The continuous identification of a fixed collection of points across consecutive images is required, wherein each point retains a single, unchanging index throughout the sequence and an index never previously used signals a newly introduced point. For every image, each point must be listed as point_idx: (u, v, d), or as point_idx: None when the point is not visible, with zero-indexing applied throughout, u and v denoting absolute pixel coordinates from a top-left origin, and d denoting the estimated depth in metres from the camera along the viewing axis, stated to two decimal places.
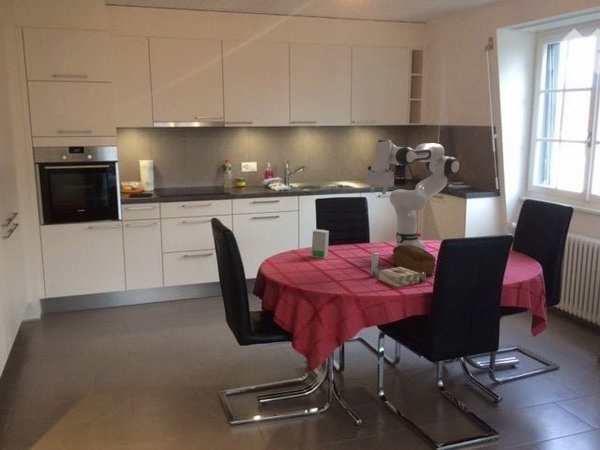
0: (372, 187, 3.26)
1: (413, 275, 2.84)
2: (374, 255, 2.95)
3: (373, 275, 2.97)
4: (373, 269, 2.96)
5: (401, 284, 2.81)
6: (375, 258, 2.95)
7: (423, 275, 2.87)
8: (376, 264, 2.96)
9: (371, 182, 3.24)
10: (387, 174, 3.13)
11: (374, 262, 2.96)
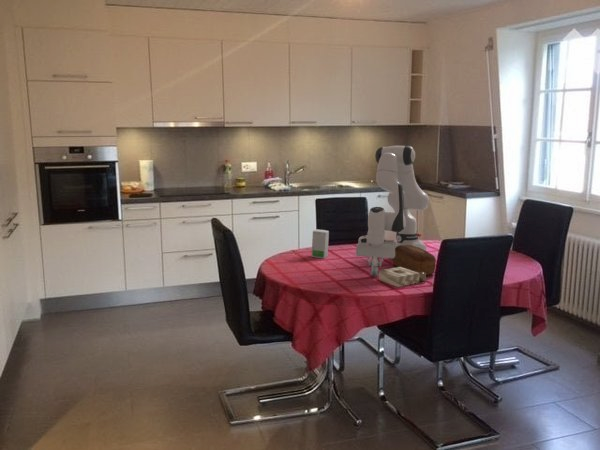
0: None
1: (413, 275, 2.84)
2: None
3: (373, 275, 2.97)
4: (373, 269, 2.96)
5: (401, 284, 2.81)
6: (375, 258, 2.95)
7: (423, 275, 2.87)
8: (376, 264, 2.96)
9: (366, 255, 2.96)
10: (391, 245, 2.92)
11: (374, 262, 2.96)
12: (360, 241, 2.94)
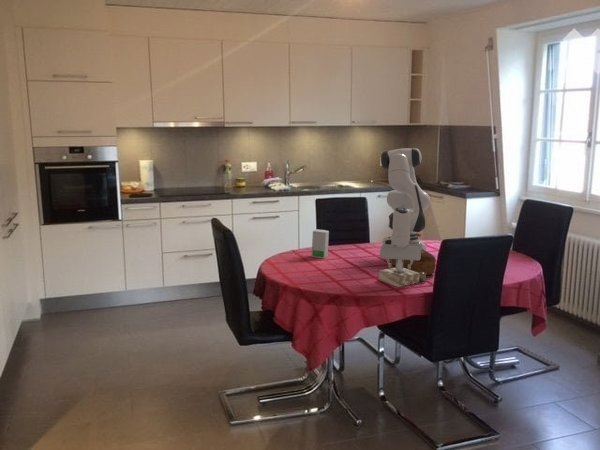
0: None
1: (413, 275, 2.84)
2: (399, 260, 2.86)
3: None
4: None
5: (401, 284, 2.81)
6: (400, 263, 2.86)
7: (423, 275, 2.87)
8: (401, 269, 2.86)
9: (390, 257, 2.86)
10: (416, 247, 2.83)
11: (398, 267, 2.86)
12: (384, 243, 2.84)
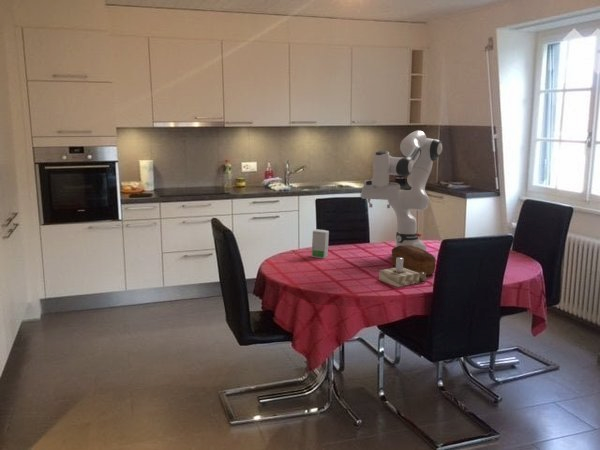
0: (369, 202, 3.09)
1: (413, 275, 2.84)
2: (399, 260, 2.86)
3: None
4: None
5: (401, 284, 2.81)
6: (400, 263, 2.86)
7: (423, 275, 2.87)
8: (401, 269, 2.86)
9: (371, 197, 3.07)
10: (395, 187, 3.03)
11: (398, 267, 2.86)
12: (365, 183, 3.05)
